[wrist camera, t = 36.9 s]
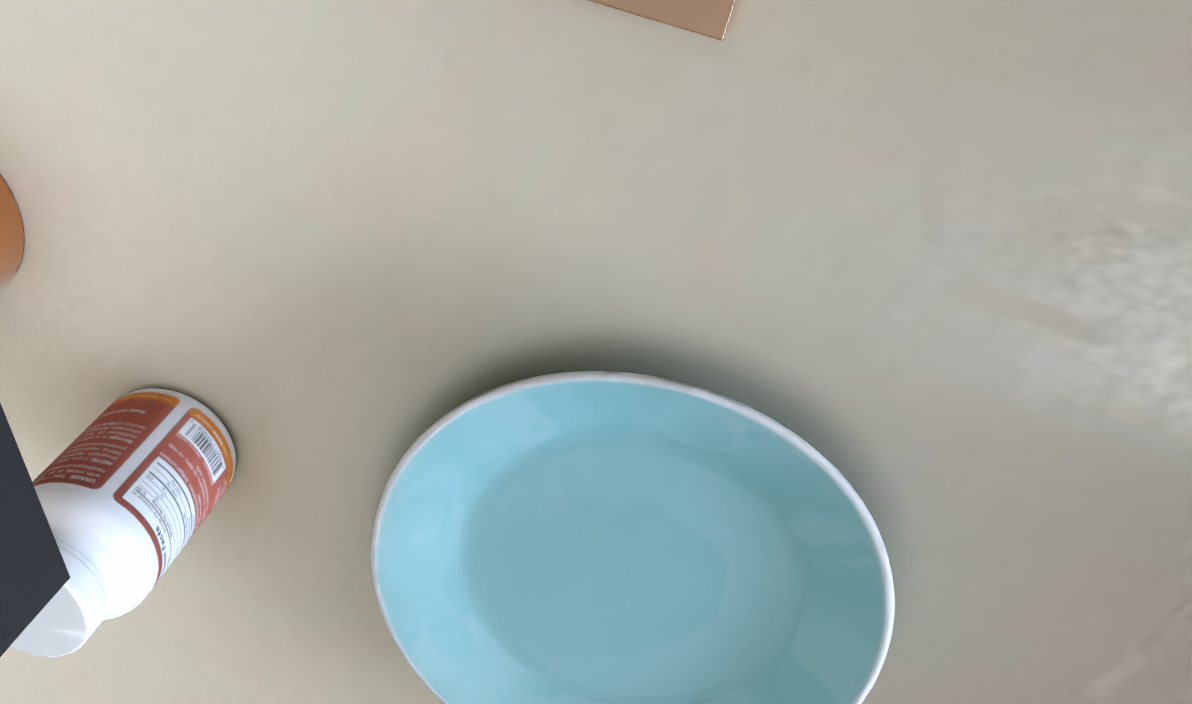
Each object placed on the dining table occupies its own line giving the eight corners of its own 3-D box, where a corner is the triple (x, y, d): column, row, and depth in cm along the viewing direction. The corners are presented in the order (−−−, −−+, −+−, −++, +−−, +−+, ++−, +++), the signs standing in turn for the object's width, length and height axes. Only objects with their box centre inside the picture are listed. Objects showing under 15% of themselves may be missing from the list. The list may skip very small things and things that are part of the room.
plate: (296, 548, 51) (271, 589, 48) (605, 231, 41) (594, 262, 38) (647, 807, 55) (641, 855, 53) (1003, 579, 45) (1015, 626, 43)
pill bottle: (95, 458, 50) (-70, 625, 40) (128, 358, 47) (-42, 513, 37) (219, 519, 51) (85, 698, 41) (259, 425, 48) (125, 595, 38)
